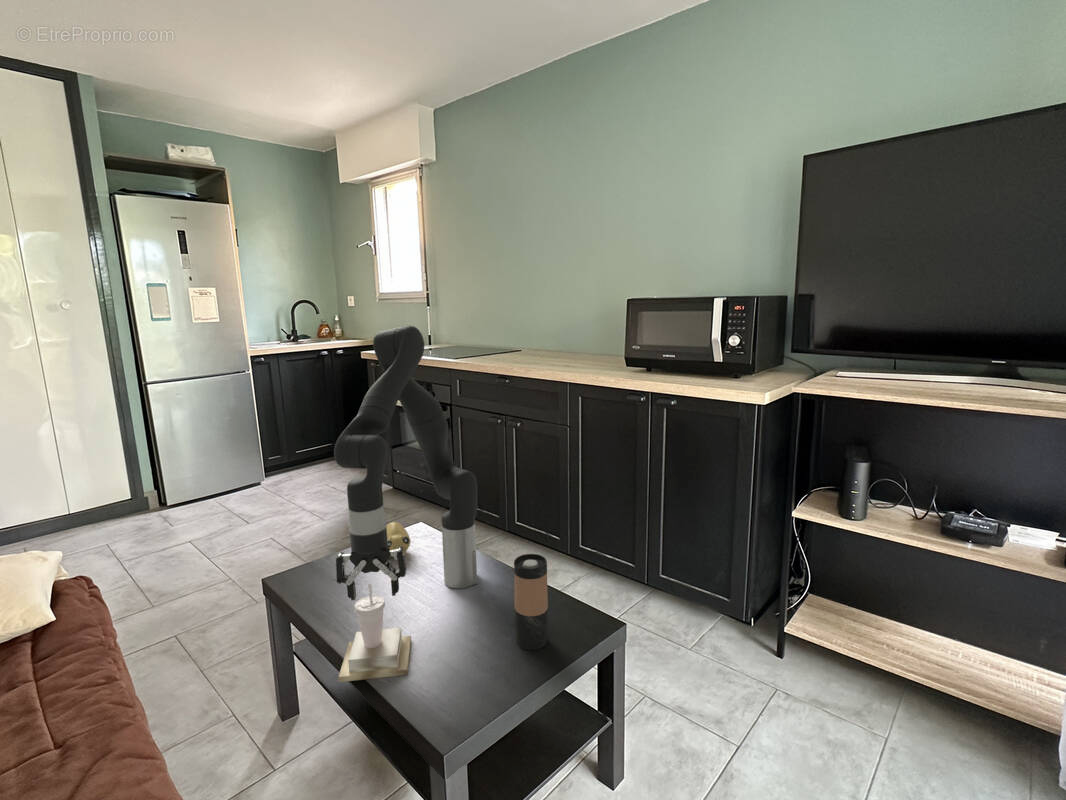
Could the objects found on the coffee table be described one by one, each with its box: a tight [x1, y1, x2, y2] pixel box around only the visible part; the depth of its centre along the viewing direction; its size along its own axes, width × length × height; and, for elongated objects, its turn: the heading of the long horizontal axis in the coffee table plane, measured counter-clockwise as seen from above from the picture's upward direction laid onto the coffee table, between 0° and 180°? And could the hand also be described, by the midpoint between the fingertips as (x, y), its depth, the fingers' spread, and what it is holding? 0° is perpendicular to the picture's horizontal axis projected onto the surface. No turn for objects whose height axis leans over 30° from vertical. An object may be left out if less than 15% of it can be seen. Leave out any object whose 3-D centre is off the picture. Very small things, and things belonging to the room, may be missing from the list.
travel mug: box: [513, 553, 549, 651], centre depth 123 cm, size 8×8×20 cm
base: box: [338, 627, 412, 683], centre depth 119 cm, size 14×12×4 cm
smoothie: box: [354, 582, 386, 648], centre depth 117 cm, size 6×6×14 cm
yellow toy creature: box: [386, 521, 411, 558], centre depth 168 cm, size 10×12×11 cm
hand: (374, 596), depth 116 cm, fingers open, 8 cm apart
